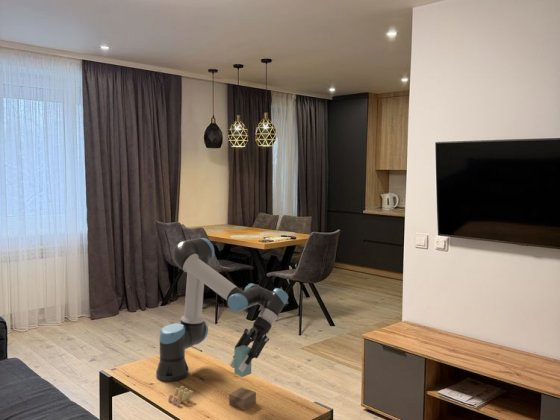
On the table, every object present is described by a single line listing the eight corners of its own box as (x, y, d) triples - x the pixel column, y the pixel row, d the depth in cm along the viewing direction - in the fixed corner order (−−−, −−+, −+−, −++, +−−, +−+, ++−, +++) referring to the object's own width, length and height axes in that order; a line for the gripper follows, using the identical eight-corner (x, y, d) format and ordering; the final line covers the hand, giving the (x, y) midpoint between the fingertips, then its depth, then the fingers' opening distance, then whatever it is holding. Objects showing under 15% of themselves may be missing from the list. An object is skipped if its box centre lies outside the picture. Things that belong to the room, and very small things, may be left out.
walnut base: (229, 405, 205) (229, 394, 204) (241, 398, 211) (241, 387, 211) (244, 411, 200) (244, 399, 200) (255, 403, 207) (256, 392, 206)
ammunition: (182, 384, 213) (167, 390, 207) (193, 390, 208) (178, 396, 202) (182, 395, 213) (167, 401, 207) (193, 400, 209) (178, 407, 203)
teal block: (234, 373, 205) (234, 348, 204) (243, 370, 208) (243, 345, 207) (242, 377, 201) (242, 351, 200) (251, 373, 205) (251, 348, 204)
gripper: (284, 330, 208) (255, 379, 198) (255, 321, 221) (227, 366, 210) (275, 321, 204) (245, 370, 194) (246, 312, 216) (217, 358, 206)
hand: (236, 368), depth 202 cm, fingers closed on teal block, 5 cm apart
